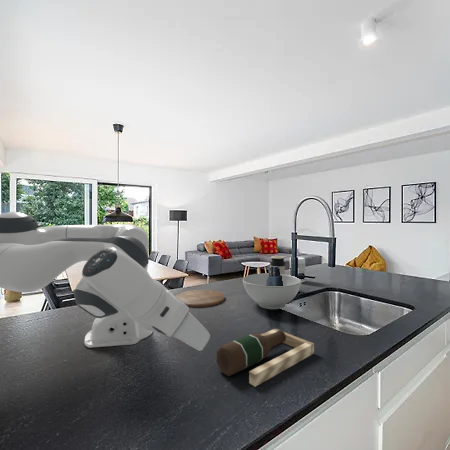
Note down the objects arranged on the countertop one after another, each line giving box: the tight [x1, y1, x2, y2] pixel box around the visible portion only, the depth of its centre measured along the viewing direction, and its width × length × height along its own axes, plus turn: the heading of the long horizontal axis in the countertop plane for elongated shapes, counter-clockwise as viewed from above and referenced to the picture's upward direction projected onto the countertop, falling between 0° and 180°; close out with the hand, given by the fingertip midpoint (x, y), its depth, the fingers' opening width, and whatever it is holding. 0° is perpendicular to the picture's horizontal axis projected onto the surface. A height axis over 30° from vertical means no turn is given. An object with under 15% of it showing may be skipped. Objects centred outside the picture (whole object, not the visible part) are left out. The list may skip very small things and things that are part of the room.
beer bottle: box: [215, 329, 286, 377], centre depth 82 cm, size 8×8×24 cm
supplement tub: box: [289, 256, 307, 284], centre depth 177 cm, size 10×10×15 cm
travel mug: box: [270, 255, 286, 275], centre depth 161 cm, size 8×8×18 cm
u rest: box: [248, 328, 315, 388], centre depth 83 cm, size 26×15×3 cm, turn 130°
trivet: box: [174, 289, 226, 308], centre depth 142 cm, size 25×25×2 cm
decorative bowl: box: [242, 273, 302, 310], centre depth 131 cm, size 27×27×12 cm
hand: (193, 339), depth 66 cm, fingers closed
